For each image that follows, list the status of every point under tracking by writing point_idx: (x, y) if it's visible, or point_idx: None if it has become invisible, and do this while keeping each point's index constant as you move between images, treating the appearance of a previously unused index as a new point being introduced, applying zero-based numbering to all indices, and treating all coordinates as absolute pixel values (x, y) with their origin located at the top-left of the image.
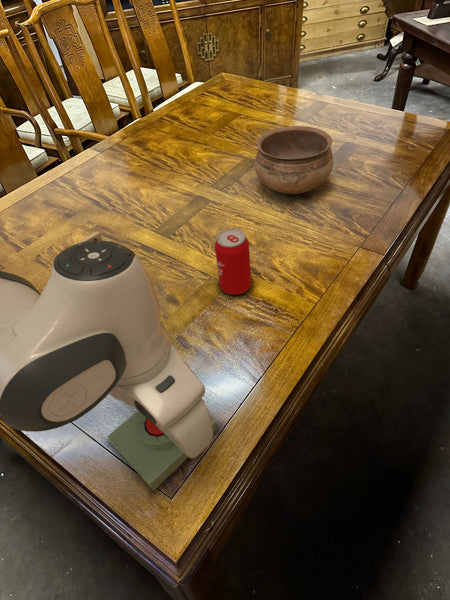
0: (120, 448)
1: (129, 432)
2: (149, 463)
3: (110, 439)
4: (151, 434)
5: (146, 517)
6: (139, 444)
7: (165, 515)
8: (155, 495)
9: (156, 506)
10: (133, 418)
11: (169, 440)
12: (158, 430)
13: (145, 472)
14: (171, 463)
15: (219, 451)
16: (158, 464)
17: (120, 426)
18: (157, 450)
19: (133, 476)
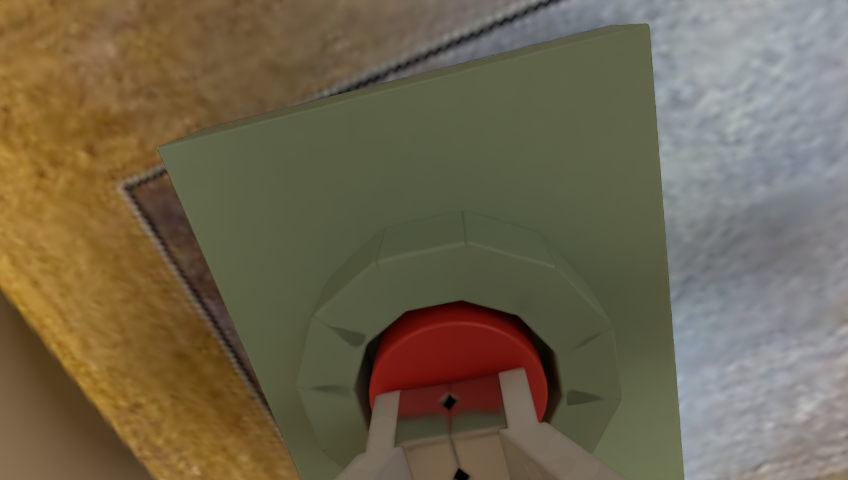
0: (493, 74)
1: (562, 176)
2: (285, 199)
3: (607, 35)
4: (422, 310)
5: (81, 33)
6: (441, 197)
7: (57, 127)
8: (176, 126)
9: (118, 106)
10: (638, 237)
11: (300, 391)
12: (397, 375)
13: (242, 153)
14: (226, 300)
15: (245, 448)
16: (253, 240)
17: (648, 140)
18: (333, 275)
19: (334, 63)
